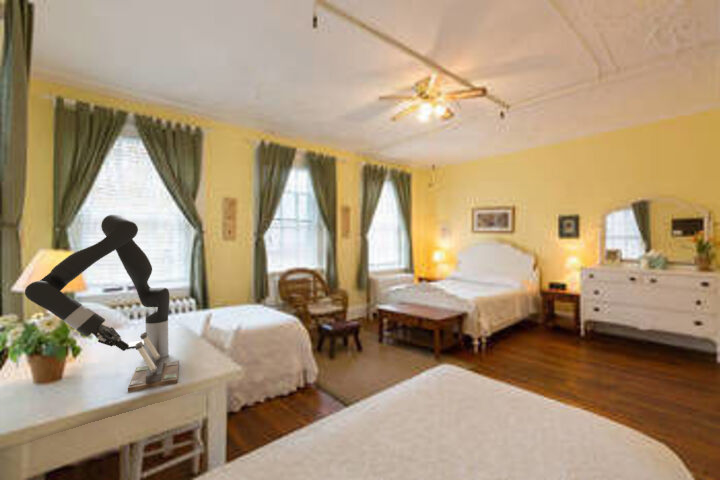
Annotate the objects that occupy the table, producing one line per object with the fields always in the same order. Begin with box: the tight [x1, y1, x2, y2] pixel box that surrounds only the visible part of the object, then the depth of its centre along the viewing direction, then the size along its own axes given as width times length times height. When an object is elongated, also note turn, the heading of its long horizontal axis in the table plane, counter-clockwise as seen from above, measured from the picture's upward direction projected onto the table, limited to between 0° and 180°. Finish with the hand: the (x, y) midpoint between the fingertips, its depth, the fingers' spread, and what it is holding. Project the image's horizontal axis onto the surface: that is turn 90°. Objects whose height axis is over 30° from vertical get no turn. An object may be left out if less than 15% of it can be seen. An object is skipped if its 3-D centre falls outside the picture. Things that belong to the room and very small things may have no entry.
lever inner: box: [139, 331, 160, 361], centre depth 137 cm, size 2×4×13 cm, turn 27°
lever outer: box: [134, 342, 157, 373], centre depth 124 cm, size 2×4×13 cm, turn 27°
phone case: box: [126, 340, 144, 350], centre depth 171 cm, size 9×2×16 cm
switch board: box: [127, 357, 180, 393], centre depth 132 cm, size 16×21×4 cm
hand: (126, 348), depth 121 cm, fingers closed
